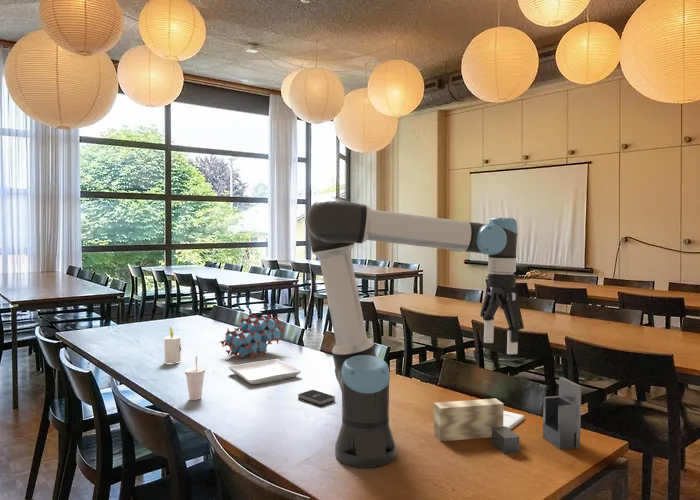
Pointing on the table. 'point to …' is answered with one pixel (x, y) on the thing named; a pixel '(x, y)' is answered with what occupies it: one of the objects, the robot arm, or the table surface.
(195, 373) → the smoothie
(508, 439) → the block
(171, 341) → the candle
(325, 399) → the external hard drive
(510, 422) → the external hard drive
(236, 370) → the salad plate
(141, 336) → the table surface
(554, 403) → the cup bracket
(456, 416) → the rail
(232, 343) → the molecule model
